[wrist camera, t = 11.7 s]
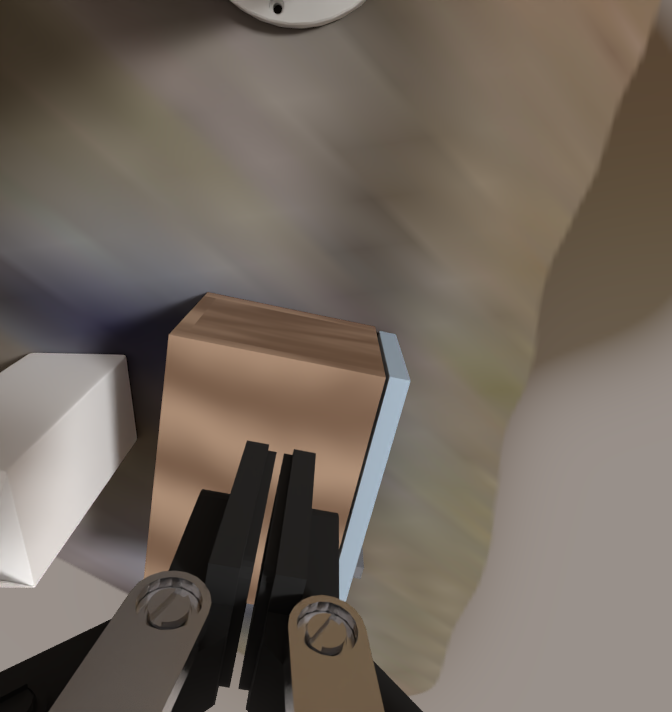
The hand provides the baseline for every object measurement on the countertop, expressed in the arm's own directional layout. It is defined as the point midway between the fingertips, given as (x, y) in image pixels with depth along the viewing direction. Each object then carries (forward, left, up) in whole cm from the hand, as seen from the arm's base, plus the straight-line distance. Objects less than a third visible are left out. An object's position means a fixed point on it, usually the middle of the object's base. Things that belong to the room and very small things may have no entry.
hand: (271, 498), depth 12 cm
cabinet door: (+12, +6, -25) cm, 28 cm away
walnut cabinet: (+12, -1, -25) cm, 28 cm away
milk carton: (+13, -15, -25) cm, 32 cm away
